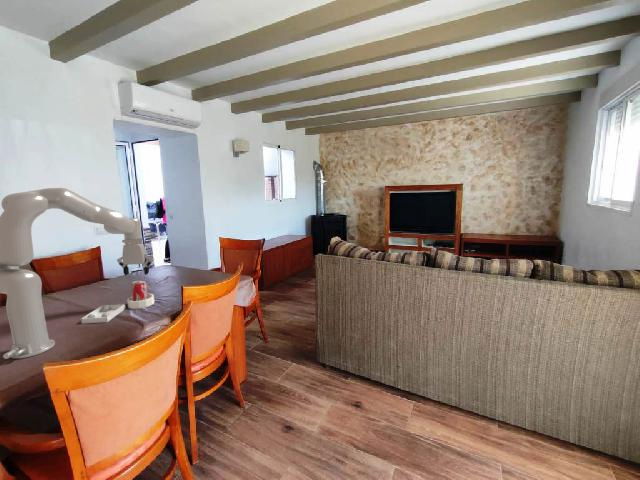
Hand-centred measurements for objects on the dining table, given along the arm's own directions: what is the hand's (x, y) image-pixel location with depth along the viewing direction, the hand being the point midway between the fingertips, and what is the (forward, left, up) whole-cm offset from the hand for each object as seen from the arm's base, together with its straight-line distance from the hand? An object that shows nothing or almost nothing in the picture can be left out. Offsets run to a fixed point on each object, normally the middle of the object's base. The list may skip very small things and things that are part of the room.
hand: (136, 274), depth 155 cm
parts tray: (-12, +11, -17) cm, 23 cm away
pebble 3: (-17, +8, -17) cm, 25 cm away
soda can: (0, 0, -16) cm, 16 cm away
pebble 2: (-6, +13, -17) cm, 22 cm away
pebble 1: (-17, +14, -17) cm, 28 cm away
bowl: (+1, 0, -17) cm, 17 cm away
